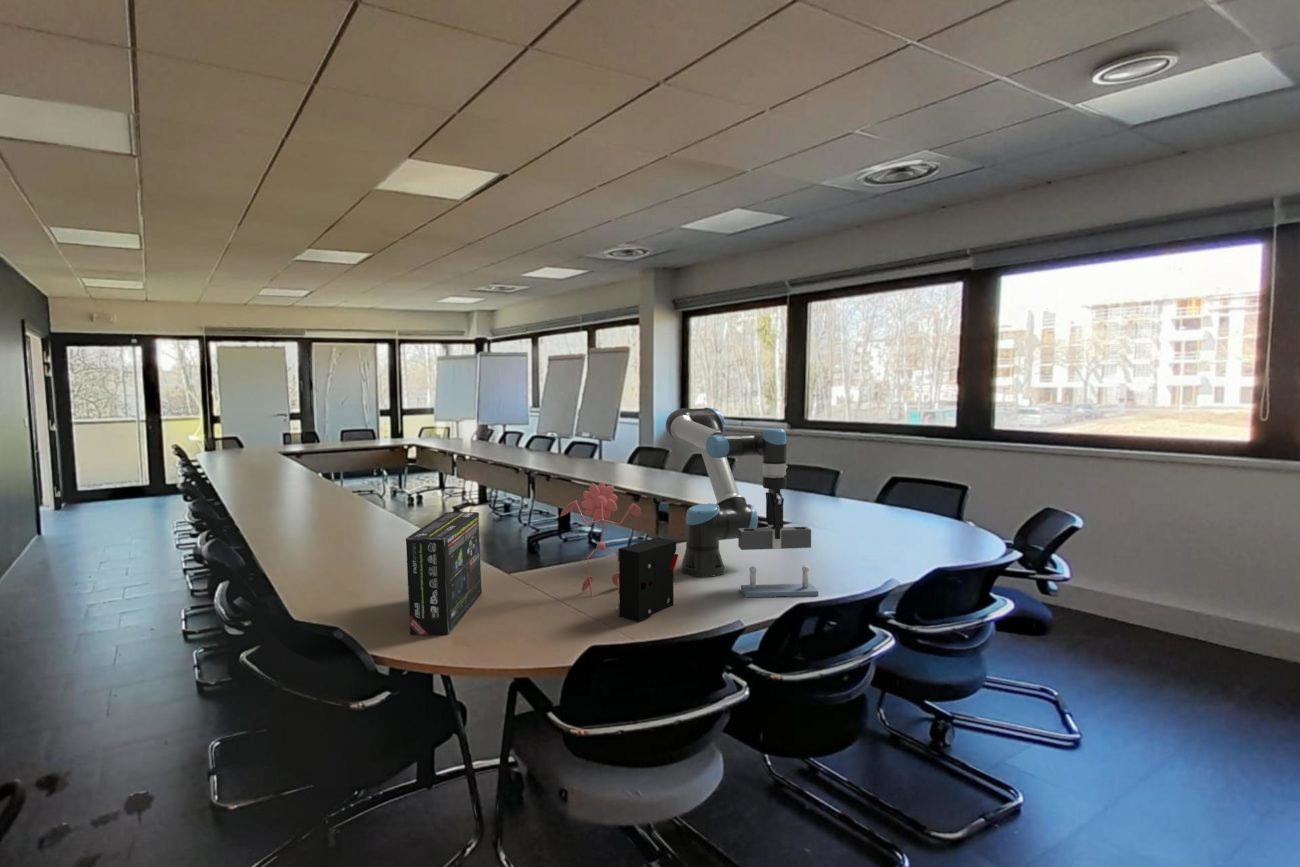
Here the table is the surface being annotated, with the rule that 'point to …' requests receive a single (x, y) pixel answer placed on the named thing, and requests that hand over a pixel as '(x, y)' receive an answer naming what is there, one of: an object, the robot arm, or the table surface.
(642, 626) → the table surface
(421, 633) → the router box
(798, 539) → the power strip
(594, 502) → the pink flower figurine
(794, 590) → the mounting plate
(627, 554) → the electrical component
